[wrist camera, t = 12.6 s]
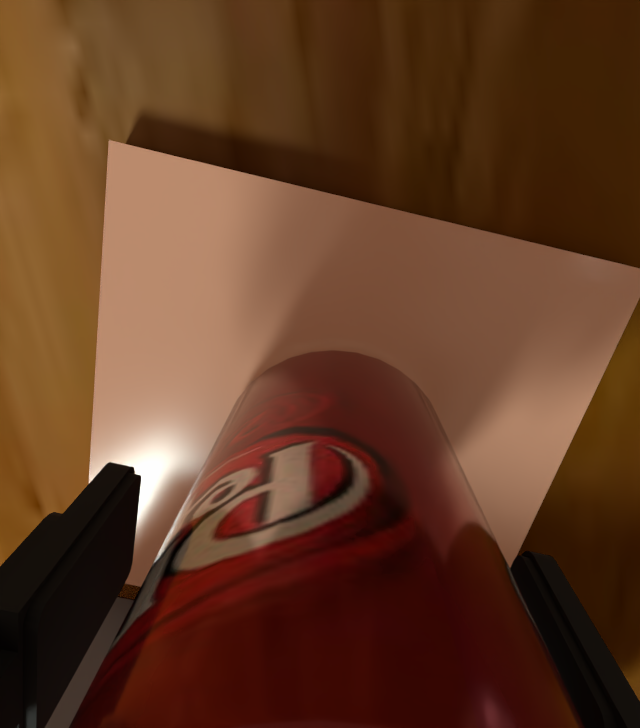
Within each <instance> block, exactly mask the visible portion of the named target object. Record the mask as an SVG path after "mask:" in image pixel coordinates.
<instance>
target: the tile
mask: <svg viewBox="0 0 640 728" xmlns="http://www.w3.org/2000/svg"><path fill="white" fill-rule="evenodd" d="M639 298H640V268H636V267H632V266H628V265H624V264H619V263H615V262H611V261H607V260H603V259H599V258H595V257H591V256H586V255H582V254H578V253H574V252H570V251H566V250H562V249H557V248H553V247H549V246H545V245H541V244H537V243H533V242H528V241H524V240H520V239H516V238H512V237H508V236H504V235H500V234H495V233H491V232H487V231H483V230H479V229H475V228H471V227H466V226H462V225H458V224H454V223H450V222H446V221H442V220H437V219H433V218H429V217H425V216H421V215H417V214H413V213H408V212H404V211H400V210H396V209H392V208H388V207H384V206H380V205H375V204H371V203H367V202H363V201H359V200H355V199H351V198H346V197H342V196H338V195H334V194H330V193H326V192H322V191H317V190H313V189H309V188H305V187H301V186H297V185H293V184H289V183H284V182H280V181H276V180H272V179H268V178H264V177H260V176H255V175H251V174H247V173H243V172H239V171H235V170H231V169H226V168H222V167H218V166H214V165H210V164H206V163H202V162H198V161H193V160H189V159H185V158H181V157H177V156H173V155H169V154H164V153H160V152H156V151H152V150H148V149H144V148H140V147H135V146H131V145H127V144H123V143H119V142H115V141H111V140H109V147H108V164H107V181H106V198H105V215H104V232H103V249H102V266H101V283H100V300H99V317H98V334H97V351H96V368H95V385H94V402H93V419H92V436H91V453H90V470H89V483H90V482H91V481H92V480H93V479H94V477H95V476H96V475H97V474H98V473H99V472H100V471H101V469H102V468H103V467H104V466H105V465H106V464H107V463H109V462H112V463H117V464H121V465H126V466H131V467H133V468H134V470H135V474H137V475H140V476H141V487H140V496H139V506H138V515H137V525H136V534H135V544H134V553H133V562H132V567H131V570H130V573H129V576H128V578H127V580H126V582H125V584H130V585H135V586H140V587H141V586H142V584H143V582H144V580H145V578H146V576H147V574H148V572H149V570H150V568H151V566H152V564H153V562H154V560H155V558H156V556H157V555H158V553H159V551H160V549H161V547H162V545H163V543H164V541H165V539H166V537H167V535H168V533H169V531H170V529H171V527H172V525H173V523H174V521H175V519H176V517H177V516H178V514H179V512H180V510H181V508H182V506H183V504H184V502H185V500H186V498H187V496H188V494H189V492H190V490H191V488H192V486H193V484H194V482H195V480H196V478H197V476H198V475H199V473H200V471H201V469H202V467H203V465H204V463H205V461H206V459H207V457H208V455H209V453H210V451H211V449H212V447H213V445H214V443H215V441H216V439H217V437H218V436H219V434H220V432H221V430H222V428H223V426H224V424H225V422H226V420H227V418H228V416H229V414H230V412H231V410H232V408H233V406H234V404H235V402H236V400H237V399H238V397H239V396H240V395H241V394H242V393H243V391H244V390H245V389H246V388H247V386H248V385H249V384H250V383H251V382H252V381H253V380H255V379H256V378H257V377H258V376H260V375H261V374H262V373H263V372H265V371H266V370H267V369H268V368H270V367H272V366H274V365H276V364H278V363H280V362H282V361H284V360H286V359H288V358H291V357H295V356H298V355H302V354H305V353H309V352H317V351H329V350H338V351H347V352H357V353H360V354H364V355H367V356H370V357H374V358H377V359H380V360H382V361H383V362H385V363H387V364H389V365H391V366H393V367H395V368H397V369H399V370H400V371H401V372H402V373H404V374H405V375H406V376H407V377H409V378H410V379H411V380H412V381H413V382H415V383H416V384H417V385H418V386H419V388H420V389H421V390H422V391H423V393H424V394H425V395H426V396H427V398H428V399H429V400H430V401H431V403H432V405H433V407H434V409H435V411H436V413H437V415H438V417H439V419H440V422H441V424H442V426H443V428H444V430H445V432H446V434H447V436H448V438H449V441H450V443H451V445H452V447H453V449H454V451H455V453H456V455H457V458H458V460H459V462H460V464H461V466H462V468H463V470H464V472H465V475H466V477H467V479H468V481H469V483H470V485H471V487H472V489H473V491H474V494H475V496H476V498H477V500H478V502H479V504H480V506H481V508H482V511H483V513H484V515H485V517H486V519H487V521H488V523H489V525H490V528H491V530H492V532H493V534H494V536H495V538H496V540H497V542H498V544H499V547H500V549H501V551H502V553H503V555H504V557H505V559H506V561H507V564H508V566H509V568H510V567H511V565H512V563H513V561H514V559H515V558H516V556H517V554H518V552H519V550H520V548H521V546H522V544H523V542H524V539H525V537H526V535H527V533H528V531H529V529H530V527H531V525H532V523H533V521H534V518H535V516H536V514H537V512H538V510H539V508H540V506H541V504H542V502H543V500H544V497H545V495H546V493H547V491H548V489H549V487H550V485H551V483H552V481H553V479H554V476H555V474H556V472H557V470H558V468H559V466H560V464H561V462H562V460H563V458H564V455H565V453H566V451H567V449H568V447H569V445H570V443H571V441H572V439H573V437H574V434H575V432H576V430H577V428H578V426H579V424H580V422H581V420H582V418H583V416H584V413H585V411H586V409H587V407H588V405H589V403H590V401H591V399H592V397H593V395H594V392H595V390H596V388H597V386H598V384H599V382H600V380H601V378H602V376H603V374H604V372H605V369H606V367H607V365H608V363H609V361H610V359H611V357H612V355H613V353H614V351H615V348H616V346H617V344H618V342H619V340H620V338H621V336H622V334H623V332H624V330H625V327H626V325H627V323H628V321H629V319H630V317H631V315H632V313H633V311H634V309H635V306H636V304H637V302H638V300H639Z"/></svg>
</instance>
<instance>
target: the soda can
mask: <svg viewBox="0 0 640 728" xmlns="http://www.w3.org/2000/svg"><path fill="white" fill-rule="evenodd" d="M69 728H585V727H584V725H583V723H582V720H581V718H580V716H579V714H578V712H577V710H576V708H575V706H574V703H573V701H572V699H571V697H570V695H569V693H568V691H567V689H566V686H565V684H564V682H563V680H562V678H561V676H560V674H559V672H558V670H557V667H556V665H555V663H554V661H553V659H552V657H551V655H550V653H549V650H548V648H547V646H546V644H545V642H544V640H543V638H542V636H541V633H540V631H539V629H538V627H537V625H536V623H535V621H534V619H533V617H532V614H531V612H530V610H529V608H528V606H527V604H526V602H525V600H524V597H523V595H522V593H521V591H520V589H519V587H518V585H517V583H516V581H515V578H514V576H513V574H512V572H511V570H510V568H509V566H508V564H507V561H506V559H505V557H504V555H503V553H502V551H501V549H500V547H499V544H498V542H497V540H496V538H495V536H494V534H493V532H492V530H491V528H490V525H489V523H488V521H487V519H486V517H485V515H484V513H483V511H482V508H481V506H480V504H479V502H478V500H477V498H476V496H475V494H474V491H473V489H472V487H471V485H470V483H469V481H468V479H467V477H466V475H465V472H464V470H463V468H462V466H461V464H460V462H459V460H458V458H457V455H456V453H455V451H454V449H453V447H452V445H451V443H450V441H449V438H448V436H447V434H446V432H445V430H444V428H443V426H442V424H441V422H440V419H439V417H438V415H437V413H436V411H435V409H434V407H433V405H432V403H431V401H430V400H429V399H428V398H427V396H426V395H425V394H424V393H423V391H422V390H421V389H420V388H419V386H418V385H417V384H416V383H415V382H413V381H412V380H411V379H410V378H409V377H407V376H406V375H405V374H404V373H402V372H401V371H400V370H399V369H397V368H395V367H393V366H391V365H389V364H387V363H385V362H383V361H382V360H380V359H377V358H374V357H370V356H367V355H364V354H360V353H357V352H347V351H338V350H329V351H317V352H309V353H305V354H302V355H298V356H295V357H291V358H288V359H286V360H284V361H282V362H280V363H278V364H276V365H274V366H272V367H270V368H268V369H267V370H266V371H265V372H263V373H262V374H261V375H260V376H258V377H257V378H256V379H255V380H253V381H252V382H251V383H250V384H249V385H248V386H247V388H246V389H245V390H244V391H243V393H242V394H241V395H240V396H239V397H238V399H237V400H236V402H235V404H234V406H233V408H232V410H231V412H230V414H229V416H228V418H227V420H226V422H225V424H224V426H223V428H222V430H221V432H220V434H219V436H218V437H217V439H216V441H215V443H214V445H213V447H212V449H211V451H210V453H209V455H208V457H207V459H206V461H205V463H204V465H203V467H202V469H201V471H200V473H199V475H198V476H197V478H196V480H195V482H194V484H193V486H192V488H191V490H190V492H189V494H188V496H187V498H186V500H185V502H184V504H183V506H182V508H181V510H180V512H179V514H178V516H177V517H176V519H175V521H174V523H173V525H172V527H171V529H170V531H169V533H168V535H167V537H166V539H165V541H164V543H163V545H162V547H161V549H160V551H159V553H158V555H157V556H156V558H155V560H154V562H153V564H152V566H151V568H150V570H149V572H148V574H147V576H146V578H145V580H144V582H143V584H142V586H141V588H140V590H139V592H138V594H137V595H136V597H135V599H134V601H133V603H132V605H131V607H130V609H129V611H128V613H127V615H126V617H125V619H124V621H123V623H122V625H121V627H120V629H119V631H118V633H117V635H116V636H115V638H114V640H113V642H112V644H111V646H110V648H109V650H108V652H107V654H106V656H105V658H104V660H103V662H102V664H101V666H100V668H99V670H98V672H97V674H96V675H95V677H94V679H93V681H92V683H91V685H90V687H89V689H88V691H87V693H86V695H85V697H84V699H83V701H82V703H81V705H80V707H79V709H78V711H77V713H76V714H75V716H74V718H73V720H72V722H71V724H70V726H69Z"/></svg>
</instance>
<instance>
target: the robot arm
mask: <svg viewBox="0 0 640 728" xmlns="http://www.w3.org/2000/svg"><path fill="white" fill-rule="evenodd" d="M140 487H141V476H140V475H137V474H135V470H134V468H133V467H131V466H126V465H121V464H117V463H112V462H109V463H107V464H106V465H105V466H104V467H103V468H102V469H101V471H100V472H99V473H98V474H97V475H96V476H95V477H94V479H93V480H92V481H91V482H90V483H89V484H88V485H87V487H86V488H85V489H84V490H83V491H82V492H81V494H80V495H79V496H78V497H77V498H76V499H75V500H74V502H73V503H72V504H71V505H70V506H69V507H68V508H67V510H66V511H65V512H64V513H63V514H60V513H56V512H53V513H51V514H49V515H48V516H47V517H45V518H44V519H43V520H42V522H41V523H40V524H39V525H38V526H37V527H36V528H35V529H34V530H33V531H32V532H31V534H30V535H29V536H28V537H27V538H26V539H25V540H24V541H23V542H22V543H21V544H20V546H19V547H18V548H17V549H16V550H15V551H14V552H13V553H12V554H11V555H10V556H9V558H8V559H7V560H6V561H5V562H4V563H3V564H2V565H1V566H0V728H45V726H46V725H47V723H48V721H49V719H50V718H51V716H52V714H53V712H54V710H55V708H56V707H57V705H58V703H59V701H60V699H61V698H62V696H63V694H64V692H65V690H66V689H67V687H68V685H69V683H70V681H71V680H72V678H73V676H74V674H75V672H76V671H77V669H78V667H79V665H80V663H81V662H82V660H83V658H84V656H85V654H86V652H87V651H88V649H89V647H90V645H91V643H92V642H93V640H94V638H95V636H96V634H97V633H98V631H99V629H100V627H101V625H102V624H103V622H104V620H105V618H106V616H107V615H108V613H109V611H110V609H111V607H112V605H113V604H114V602H115V600H116V598H117V596H118V595H119V593H120V591H121V589H122V587H123V586H124V584H125V582H126V580H127V578H128V576H129V573H130V570H131V567H132V562H133V553H134V544H135V534H136V525H137V515H138V506H139V496H140ZM510 570H511V572H512V574H513V576H514V578H515V581H516V583H517V585H518V587H519V589H520V591H521V593H522V595H523V597H524V600H525V602H526V604H527V606H528V608H529V610H530V612H531V614H532V617H533V619H534V621H535V623H536V625H537V627H538V629H539V631H540V633H541V636H542V638H543V640H544V642H545V644H546V646H547V648H548V650H549V653H550V655H551V657H552V659H553V661H554V663H555V665H556V667H557V670H558V672H559V674H560V676H561V678H562V680H563V682H564V684H565V686H566V689H567V691H568V693H569V695H570V697H571V699H572V701H573V703H574V706H575V708H576V710H577V712H578V714H579V716H580V718H581V720H582V723H583V725H584V727H585V728H640V701H639V700H638V698H637V696H636V695H635V693H634V691H633V690H632V688H631V686H630V685H629V683H628V681H627V680H626V678H625V676H624V675H623V673H622V671H621V670H620V668H619V666H618V665H617V663H616V661H615V660H614V658H613V656H612V655H611V653H610V651H609V650H608V648H607V646H606V645H605V643H604V641H603V639H602V638H601V636H600V634H599V633H598V631H597V629H596V628H595V626H594V624H593V623H592V621H591V619H590V618H589V616H588V614H587V613H586V611H585V609H584V608H583V606H582V604H581V603H580V601H579V599H578V598H577V596H576V594H575V593H574V591H573V589H572V588H571V586H570V584H569V583H568V581H567V579H566V577H565V576H564V574H563V572H562V571H561V569H560V567H559V566H558V564H557V562H556V561H555V560H554V558H553V557H551V556H549V555H544V554H540V553H535V552H530V551H526V552H524V553H523V554H522V556H517V557H516V558H515V559H514V561H513V563H512V565H511V567H510Z"/></svg>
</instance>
